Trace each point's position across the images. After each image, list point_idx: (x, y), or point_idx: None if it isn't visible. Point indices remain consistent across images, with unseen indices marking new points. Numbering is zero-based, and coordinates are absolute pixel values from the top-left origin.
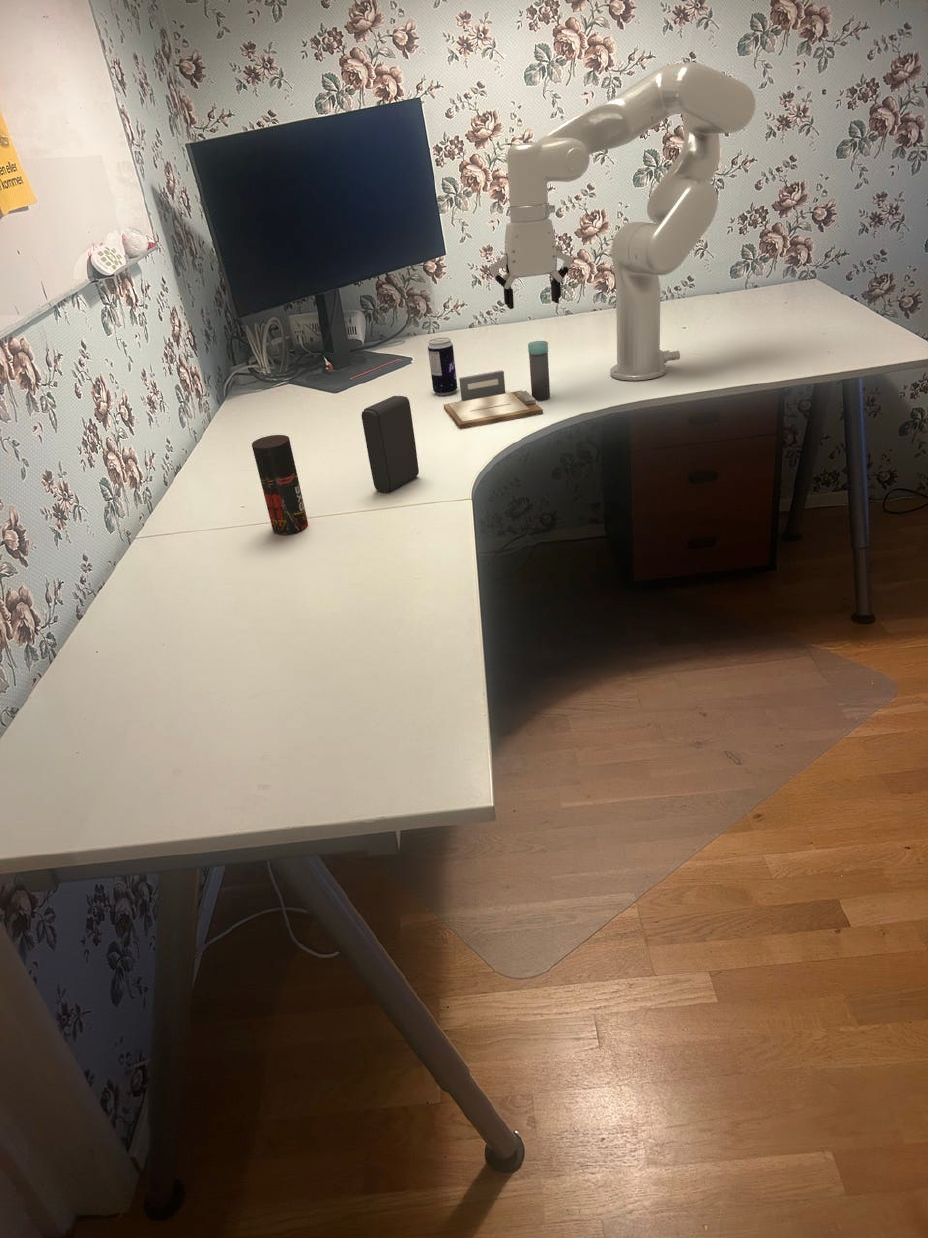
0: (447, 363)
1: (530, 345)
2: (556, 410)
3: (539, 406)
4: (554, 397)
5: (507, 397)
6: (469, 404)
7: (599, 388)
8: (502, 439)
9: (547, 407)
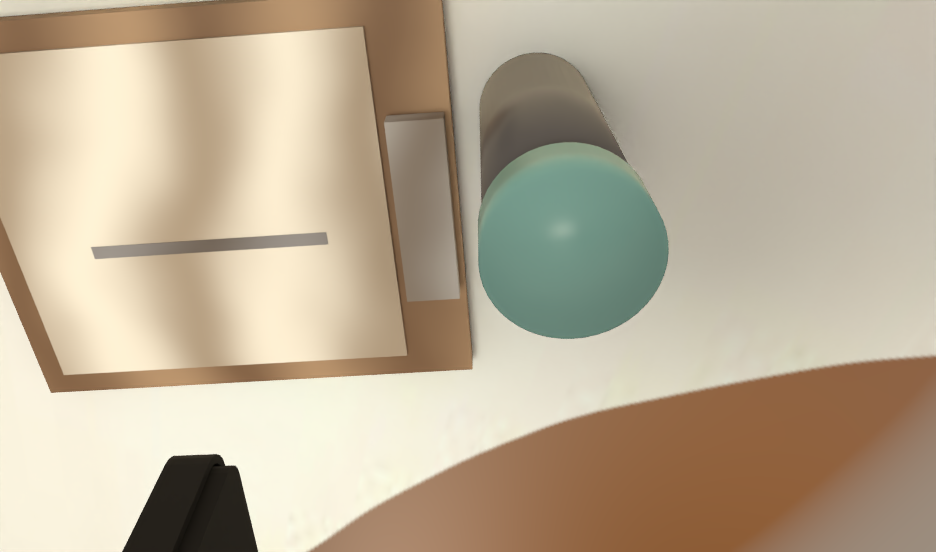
0: None
1: (492, 287)
2: (546, 337)
3: (467, 326)
4: None
5: (322, 113)
6: (80, 134)
7: (909, 102)
8: None
9: None
